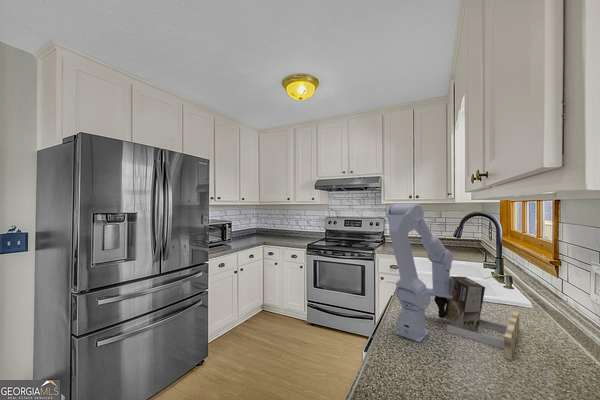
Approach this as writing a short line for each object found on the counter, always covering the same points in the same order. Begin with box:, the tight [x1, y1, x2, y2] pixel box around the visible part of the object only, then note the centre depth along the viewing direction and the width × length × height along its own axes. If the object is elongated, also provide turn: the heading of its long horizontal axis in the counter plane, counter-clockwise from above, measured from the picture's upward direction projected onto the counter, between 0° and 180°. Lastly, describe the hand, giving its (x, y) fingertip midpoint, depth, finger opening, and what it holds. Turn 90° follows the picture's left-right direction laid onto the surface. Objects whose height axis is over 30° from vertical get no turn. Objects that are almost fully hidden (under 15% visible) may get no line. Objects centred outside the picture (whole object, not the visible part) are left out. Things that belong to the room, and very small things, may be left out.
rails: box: [446, 317, 508, 350], centre depth 86 cm, size 13×16×2 cm
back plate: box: [503, 310, 520, 361], centre depth 80 cm, size 24×2×6 cm, turn 135°
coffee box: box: [443, 275, 486, 332], centre depth 89 cm, size 9×6×16 cm
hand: (442, 317), depth 94 cm, fingers closed, pressing on coffee box
